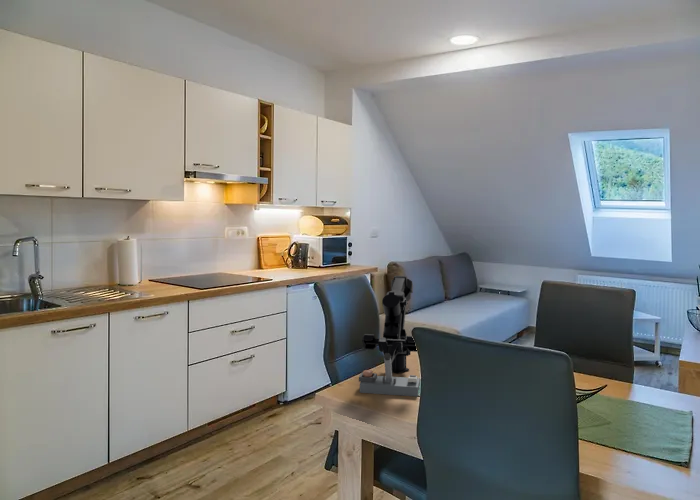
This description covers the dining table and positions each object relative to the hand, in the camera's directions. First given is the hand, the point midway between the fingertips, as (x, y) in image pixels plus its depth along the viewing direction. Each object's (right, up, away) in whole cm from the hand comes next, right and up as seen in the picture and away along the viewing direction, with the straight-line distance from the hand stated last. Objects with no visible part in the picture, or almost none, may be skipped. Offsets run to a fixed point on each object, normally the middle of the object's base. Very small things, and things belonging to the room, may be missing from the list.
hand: (388, 365), depth 166 cm
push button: (-6, -5, +6) cm, 10 cm away
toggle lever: (+1, -7, +3) cm, 7 cm away
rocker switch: (+8, -6, +3) cm, 11 cm away
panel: (+1, -9, +5) cm, 11 cm away
